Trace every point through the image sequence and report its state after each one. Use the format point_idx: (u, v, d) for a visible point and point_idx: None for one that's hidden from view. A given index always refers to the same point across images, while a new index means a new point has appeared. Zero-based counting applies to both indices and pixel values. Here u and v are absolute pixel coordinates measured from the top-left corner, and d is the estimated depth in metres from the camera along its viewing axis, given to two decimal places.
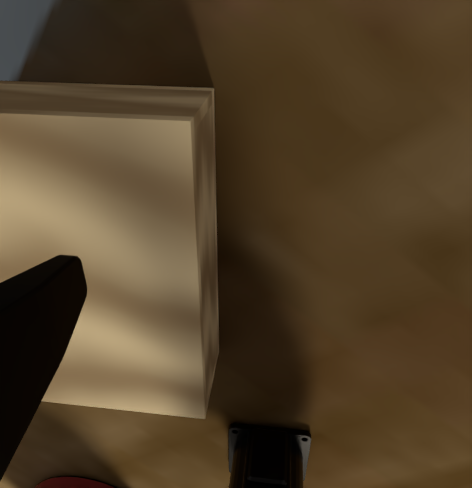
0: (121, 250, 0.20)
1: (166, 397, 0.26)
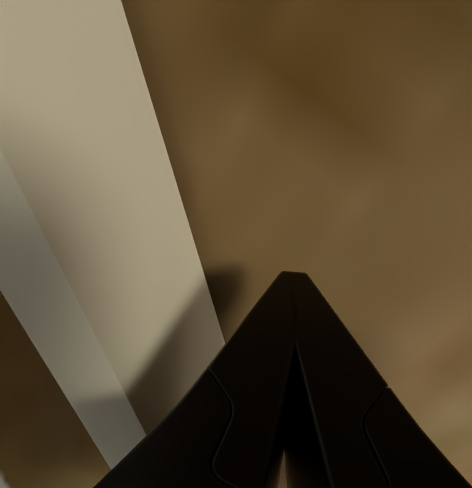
0: None
1: None
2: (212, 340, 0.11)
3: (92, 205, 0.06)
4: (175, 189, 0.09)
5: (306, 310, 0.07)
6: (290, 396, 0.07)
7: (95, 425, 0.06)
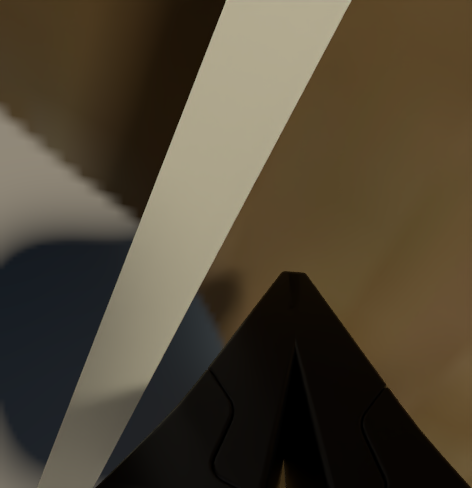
0: None
1: None
2: None
3: None
4: None
5: (305, 310, 0.07)
6: (289, 396, 0.07)
7: (90, 390, 0.06)
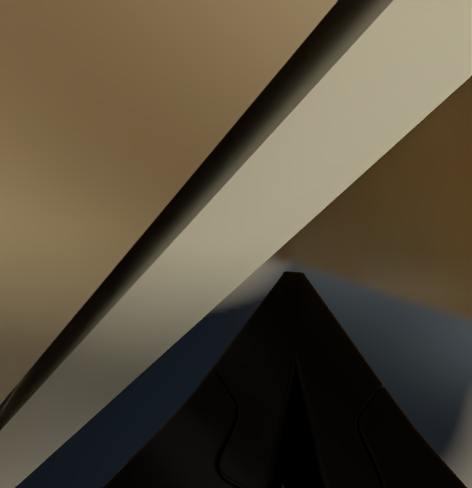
0: None
1: None
2: None
3: None
4: None
5: (302, 310, 0.07)
6: None
7: (97, 347, 0.06)
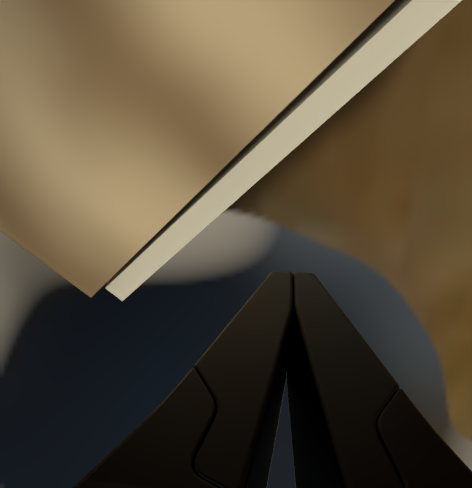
0: None
1: None
2: None
3: None
4: None
5: (315, 311, 0.07)
6: (300, 397, 0.07)
7: (182, 223, 0.16)
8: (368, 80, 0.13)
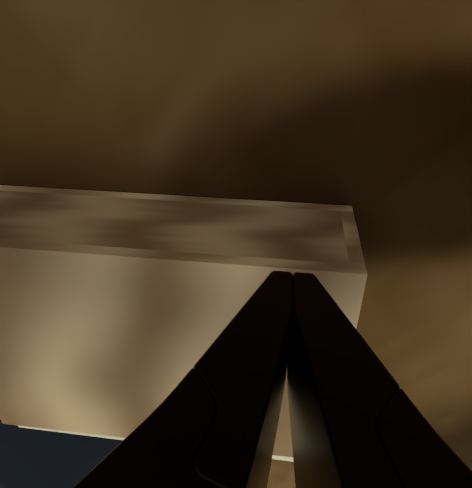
0: (80, 319, 0.19)
1: None
2: None
3: None
4: None
5: (315, 311, 0.07)
6: (299, 397, 0.07)
7: None
8: None
